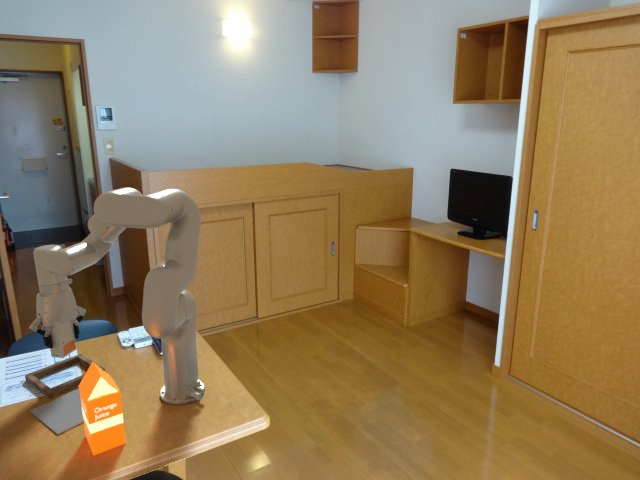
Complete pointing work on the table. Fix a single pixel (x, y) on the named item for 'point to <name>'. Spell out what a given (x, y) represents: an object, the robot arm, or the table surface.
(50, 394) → the brown square frame
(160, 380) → the table surface
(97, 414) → the orange juice
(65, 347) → the skincare box
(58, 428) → the rubber mat
